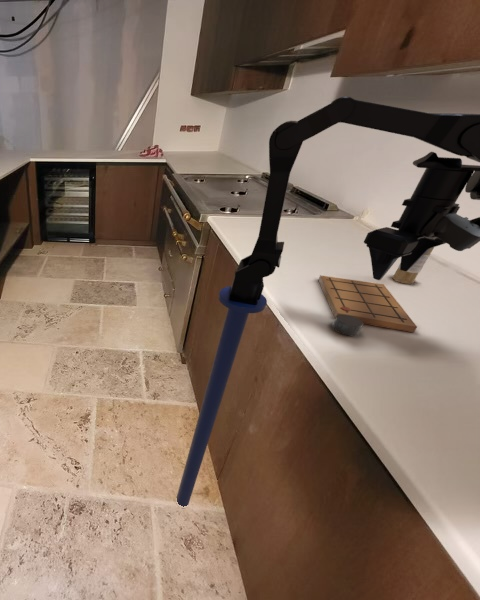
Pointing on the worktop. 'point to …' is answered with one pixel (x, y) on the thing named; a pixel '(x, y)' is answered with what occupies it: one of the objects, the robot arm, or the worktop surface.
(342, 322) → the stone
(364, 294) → the board
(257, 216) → the worktop surface
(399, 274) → the sprinkles bottle
